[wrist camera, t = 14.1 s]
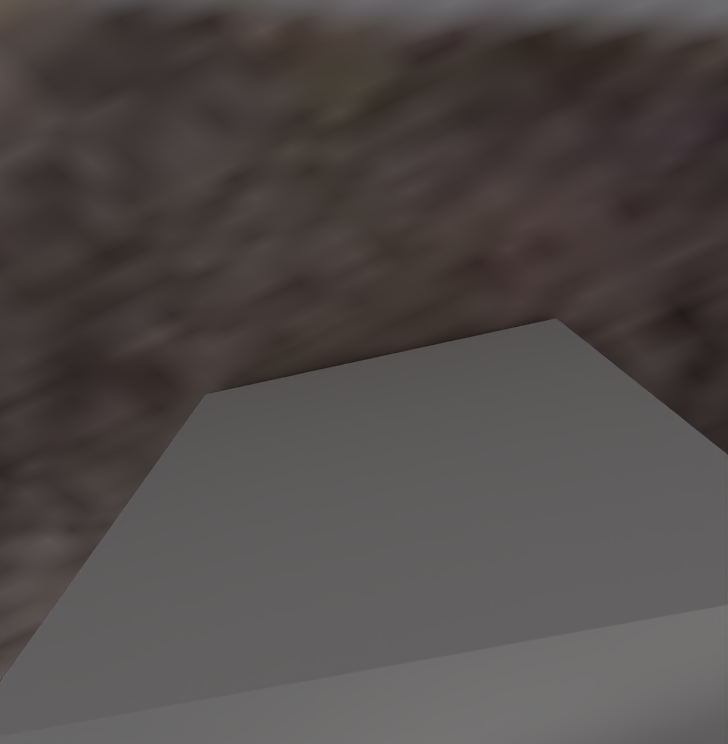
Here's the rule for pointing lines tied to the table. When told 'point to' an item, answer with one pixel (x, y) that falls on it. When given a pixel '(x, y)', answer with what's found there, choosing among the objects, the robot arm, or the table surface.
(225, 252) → the table surface
